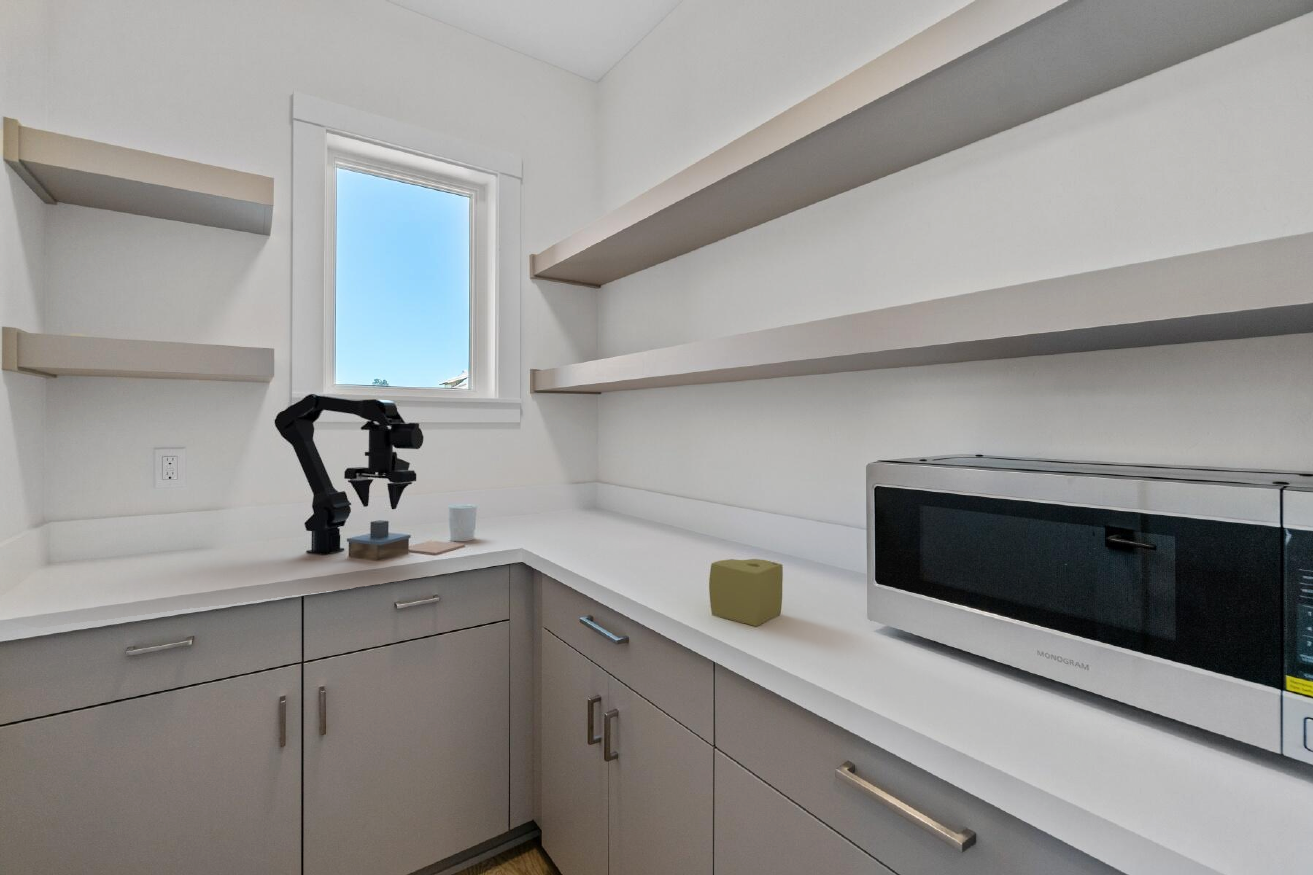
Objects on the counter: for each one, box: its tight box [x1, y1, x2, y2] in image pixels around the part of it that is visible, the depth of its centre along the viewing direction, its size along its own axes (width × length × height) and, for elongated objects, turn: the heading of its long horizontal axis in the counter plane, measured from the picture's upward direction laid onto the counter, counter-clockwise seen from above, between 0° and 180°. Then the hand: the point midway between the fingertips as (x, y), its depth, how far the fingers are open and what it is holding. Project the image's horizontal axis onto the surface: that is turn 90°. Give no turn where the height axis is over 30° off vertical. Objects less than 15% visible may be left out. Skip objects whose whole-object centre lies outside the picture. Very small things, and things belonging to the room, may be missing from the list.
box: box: [348, 538, 410, 562], centre depth 152 cm, size 10×10×4 cm
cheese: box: [708, 558, 784, 627], centre depth 110 cm, size 10×11×10 cm
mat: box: [409, 540, 466, 556], centre depth 161 cm, size 12×12×1 cm
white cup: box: [448, 503, 478, 542], centre depth 174 cm, size 8×8×10 cm
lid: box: [346, 519, 412, 545], centre depth 152 cm, size 11×11×6 cm
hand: (379, 507), depth 151 cm, fingers open, 9 cm apart
